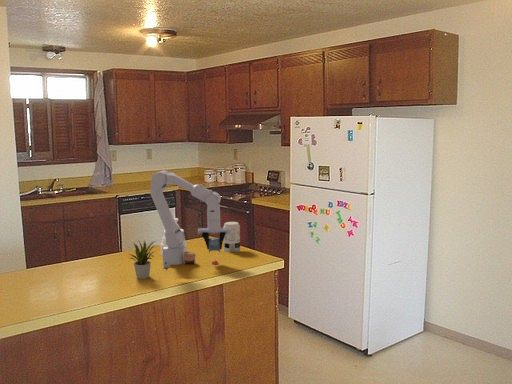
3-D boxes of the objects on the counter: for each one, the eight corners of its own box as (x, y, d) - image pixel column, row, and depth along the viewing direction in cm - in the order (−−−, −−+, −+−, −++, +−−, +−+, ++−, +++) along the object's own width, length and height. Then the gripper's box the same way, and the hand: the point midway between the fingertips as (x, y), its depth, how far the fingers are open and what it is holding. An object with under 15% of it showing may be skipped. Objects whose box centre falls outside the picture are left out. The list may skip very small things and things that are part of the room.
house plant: (168, 273, 215) (167, 236, 212) (153, 283, 202) (152, 244, 199) (139, 270, 219) (137, 234, 216) (122, 280, 205) (120, 242, 203)
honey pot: (192, 252, 247) (191, 217, 245) (175, 258, 237) (173, 222, 234) (173, 249, 254) (171, 214, 252) (155, 254, 243) (154, 219, 241)
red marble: (211, 267, 222) (211, 261, 221) (212, 265, 225) (211, 259, 224) (217, 267, 222) (217, 261, 221) (218, 265, 224) (218, 259, 224)
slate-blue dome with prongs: (208, 253, 220) (208, 240, 219) (209, 250, 225) (209, 237, 224) (219, 253, 219) (219, 240, 219) (220, 250, 224) (220, 237, 223)
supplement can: (221, 251, 249) (220, 222, 246) (236, 249, 252) (236, 220, 250) (227, 255, 241) (226, 225, 239) (242, 253, 245) (242, 223, 242)
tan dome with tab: (183, 268, 221) (183, 255, 220) (185, 265, 226) (185, 252, 225) (194, 268, 221) (194, 255, 220) (196, 265, 226) (195, 252, 225)
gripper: (196, 221, 216) (197, 251, 218) (229, 221, 216) (229, 251, 218) (198, 218, 223) (199, 247, 225) (230, 217, 223) (231, 246, 225)
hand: (214, 248), depth 222 cm, fingers closed on slate-blue dome with prongs, 5 cm apart
